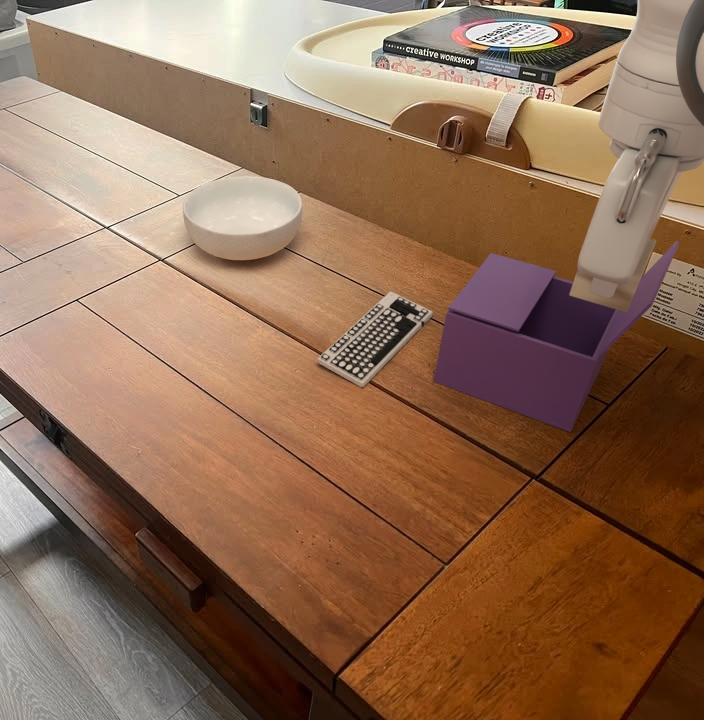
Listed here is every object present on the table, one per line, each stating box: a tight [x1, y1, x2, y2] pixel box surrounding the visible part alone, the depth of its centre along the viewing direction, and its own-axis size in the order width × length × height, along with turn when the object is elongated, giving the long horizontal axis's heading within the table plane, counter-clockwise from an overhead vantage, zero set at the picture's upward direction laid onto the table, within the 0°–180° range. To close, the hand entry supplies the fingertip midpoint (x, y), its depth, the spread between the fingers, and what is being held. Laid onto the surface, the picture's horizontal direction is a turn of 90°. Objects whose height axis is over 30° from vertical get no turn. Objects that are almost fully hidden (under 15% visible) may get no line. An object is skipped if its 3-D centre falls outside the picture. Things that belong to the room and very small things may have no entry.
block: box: [569, 238, 657, 312], centre depth 62 cm, size 4×4×4 cm
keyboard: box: [316, 290, 434, 389], centre depth 91 cm, size 17×6×2 cm, turn 142°
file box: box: [432, 252, 619, 433], centre depth 83 cm, size 15×13×10 cm
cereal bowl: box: [182, 175, 303, 261], centre depth 107 cm, size 17×17×7 cm
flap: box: [598, 240, 681, 357], centre depth 74 cm, size 7×13×1 cm
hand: (610, 274), depth 62 cm, fingers closed on block, 4 cm apart
